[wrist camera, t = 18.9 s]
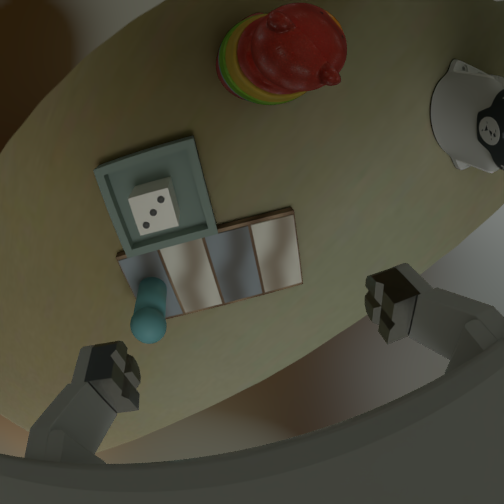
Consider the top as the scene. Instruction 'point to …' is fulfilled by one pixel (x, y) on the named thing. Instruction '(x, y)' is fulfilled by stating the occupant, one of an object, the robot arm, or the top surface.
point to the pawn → (150, 311)
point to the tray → (150, 169)
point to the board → (223, 264)
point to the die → (154, 206)
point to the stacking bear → (282, 54)
